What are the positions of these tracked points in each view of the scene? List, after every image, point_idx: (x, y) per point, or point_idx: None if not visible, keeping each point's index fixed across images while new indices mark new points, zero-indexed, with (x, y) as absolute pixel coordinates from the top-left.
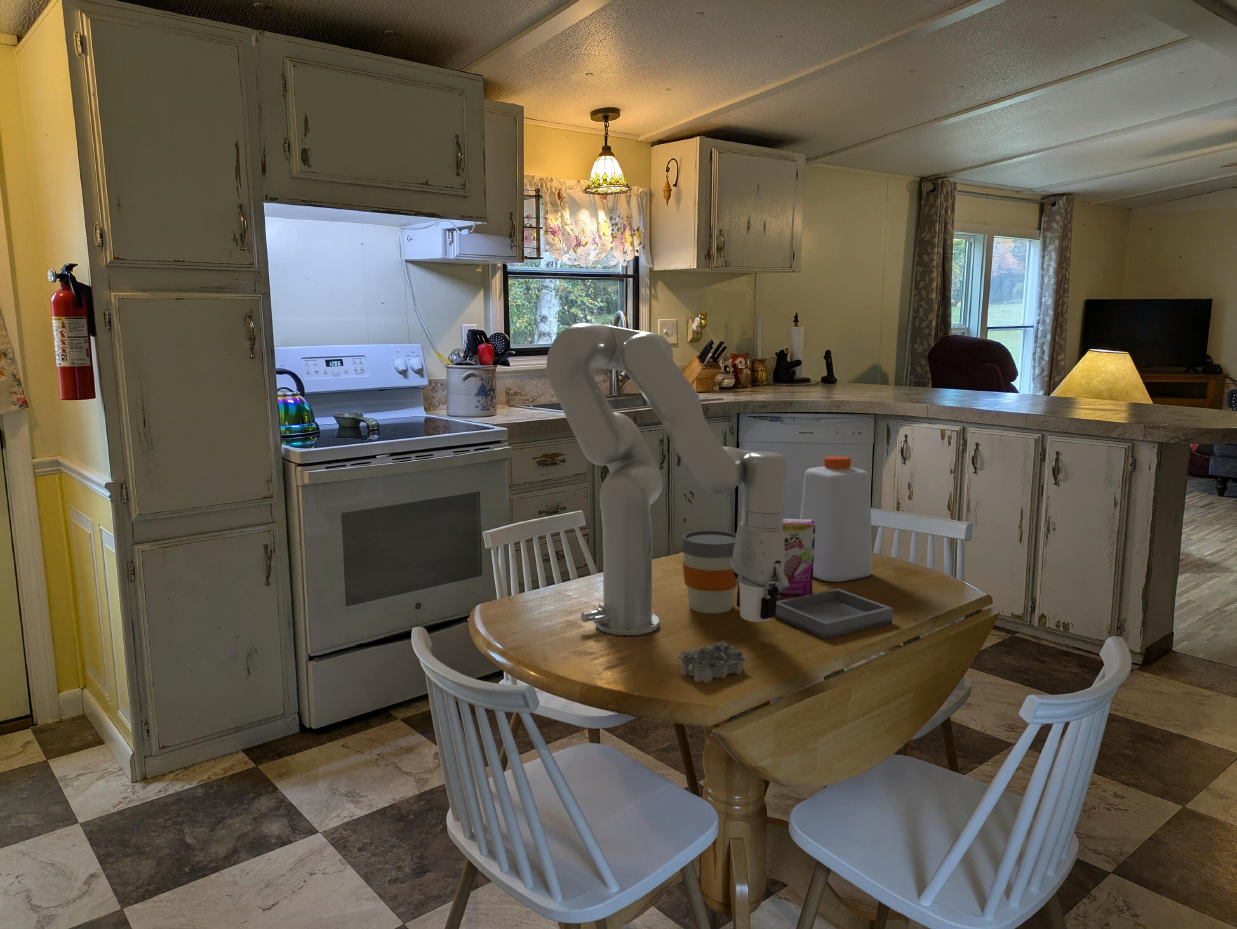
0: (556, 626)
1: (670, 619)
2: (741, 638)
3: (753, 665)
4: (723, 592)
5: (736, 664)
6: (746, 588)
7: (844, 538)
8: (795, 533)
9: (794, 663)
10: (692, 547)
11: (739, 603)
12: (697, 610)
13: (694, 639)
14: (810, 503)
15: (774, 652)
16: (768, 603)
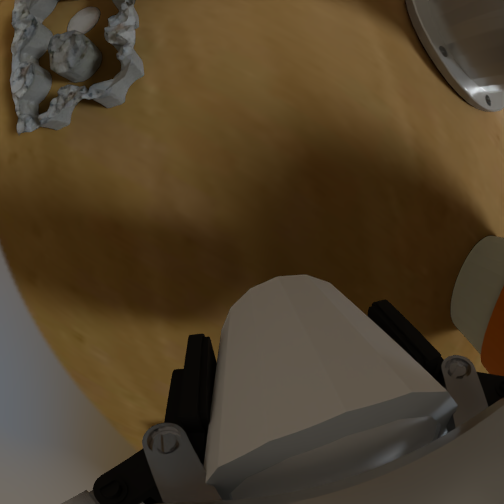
0: None
1: (474, 145)
2: (287, 250)
3: (63, 171)
4: (486, 317)
5: (27, 95)
6: (311, 397)
7: None
8: None
9: (53, 293)
10: None
11: (378, 313)
12: (482, 240)
13: (343, 98)
14: None
15: (133, 288)
16: (172, 411)
